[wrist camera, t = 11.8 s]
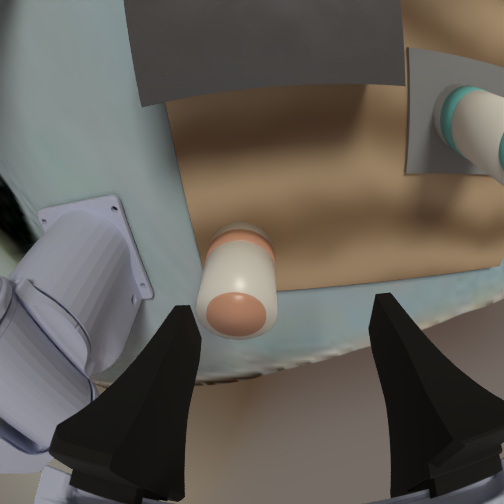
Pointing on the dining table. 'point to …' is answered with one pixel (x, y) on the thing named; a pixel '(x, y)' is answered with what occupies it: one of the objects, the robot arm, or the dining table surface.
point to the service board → (343, 168)
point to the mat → (423, 100)
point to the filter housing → (261, 45)
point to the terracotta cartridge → (238, 283)
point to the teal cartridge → (472, 126)
